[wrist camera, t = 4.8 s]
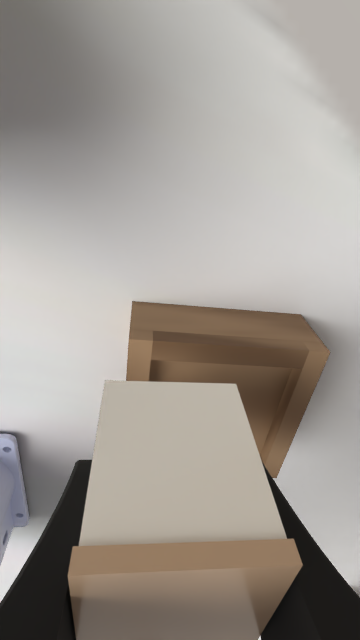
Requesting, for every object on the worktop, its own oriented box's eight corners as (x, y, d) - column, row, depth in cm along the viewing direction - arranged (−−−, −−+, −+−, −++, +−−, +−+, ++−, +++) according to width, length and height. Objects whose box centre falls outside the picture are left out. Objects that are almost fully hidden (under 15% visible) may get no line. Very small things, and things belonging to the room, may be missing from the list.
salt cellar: (217, 467, 14) (253, 647, 9) (102, 467, 13) (78, 660, 9) (239, 381, 11) (302, 565, 7) (101, 377, 11) (67, 575, 6)
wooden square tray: (258, 427, 23) (276, 478, 20) (124, 422, 22) (119, 475, 18) (298, 311, 18) (330, 352, 15) (132, 298, 17) (128, 339, 14)
